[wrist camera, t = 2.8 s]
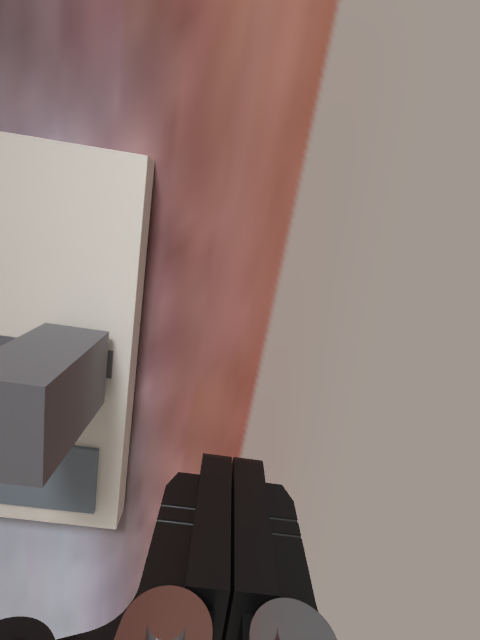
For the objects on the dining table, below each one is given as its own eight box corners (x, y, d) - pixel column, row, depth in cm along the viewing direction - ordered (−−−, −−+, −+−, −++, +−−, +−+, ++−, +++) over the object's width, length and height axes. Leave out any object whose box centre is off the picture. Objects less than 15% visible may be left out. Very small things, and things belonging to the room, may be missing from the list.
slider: (45, 322, 14) (-54, 374, 9) (109, 331, 14) (45, 387, 9) (43, 394, 15) (-49, 477, 10) (104, 402, 15) (42, 488, 10)
